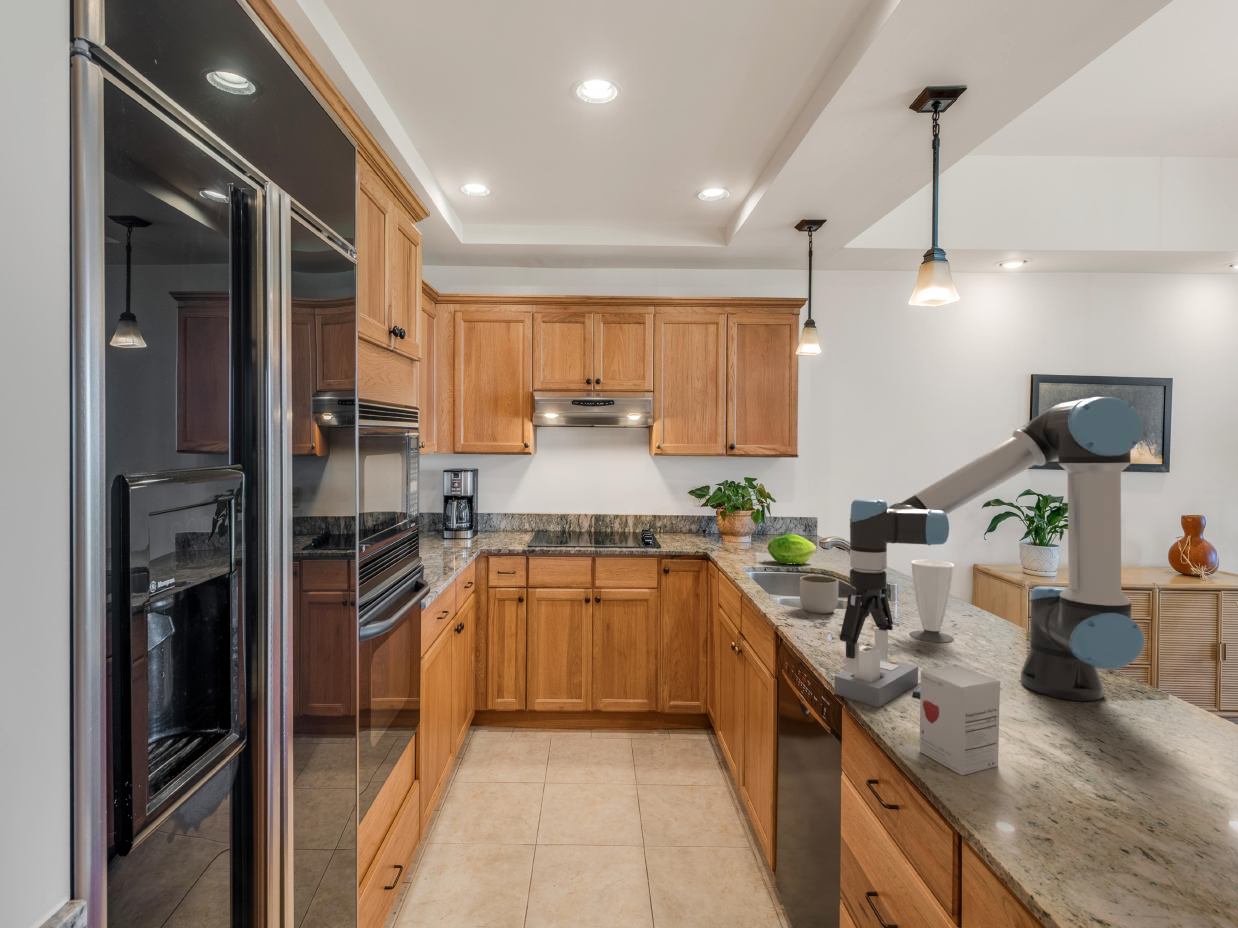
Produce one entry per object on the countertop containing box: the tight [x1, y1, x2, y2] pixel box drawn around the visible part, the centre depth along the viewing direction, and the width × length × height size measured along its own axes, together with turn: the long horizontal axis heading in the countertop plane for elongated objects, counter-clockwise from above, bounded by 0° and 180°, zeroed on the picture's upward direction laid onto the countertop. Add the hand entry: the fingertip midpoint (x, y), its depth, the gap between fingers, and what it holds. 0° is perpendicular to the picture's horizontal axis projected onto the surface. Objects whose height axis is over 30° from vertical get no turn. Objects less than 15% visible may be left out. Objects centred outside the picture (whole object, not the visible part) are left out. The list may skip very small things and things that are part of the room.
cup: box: [909, 559, 955, 644], centre depth 177 cm, size 12×12×22 cm
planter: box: [799, 574, 839, 615], centre depth 206 cm, size 12×12×11 cm
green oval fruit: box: [766, 533, 817, 565], centre depth 293 cm, size 15×23×16 cm
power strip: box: [833, 658, 919, 708], centre depth 138 cm, size 10×20×4 cm, turn 132°
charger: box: [854, 645, 880, 683], centre depth 135 cm, size 4×4×9 cm
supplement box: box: [919, 663, 1001, 776], centre depth 106 cm, size 9×9×15 cm
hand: (867, 664), depth 135 cm, fingers open, 13 cm apart
